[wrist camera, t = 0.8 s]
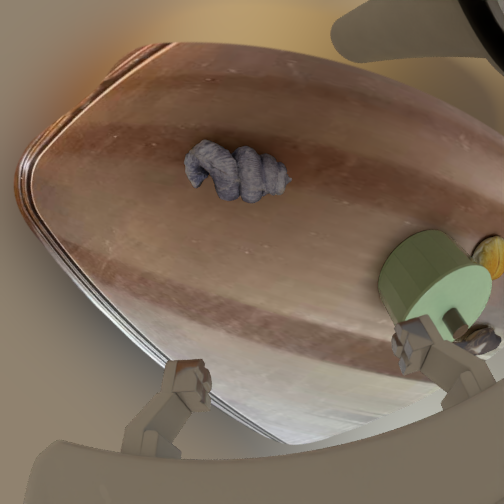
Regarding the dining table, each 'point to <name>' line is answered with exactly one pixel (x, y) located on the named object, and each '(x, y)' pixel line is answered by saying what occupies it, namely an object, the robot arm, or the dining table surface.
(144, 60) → the dining table surface
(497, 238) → the bread roll
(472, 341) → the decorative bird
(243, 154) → the seashell
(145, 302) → the dining table surface
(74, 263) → the dining table surface
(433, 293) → the pot lid
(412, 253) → the pot
